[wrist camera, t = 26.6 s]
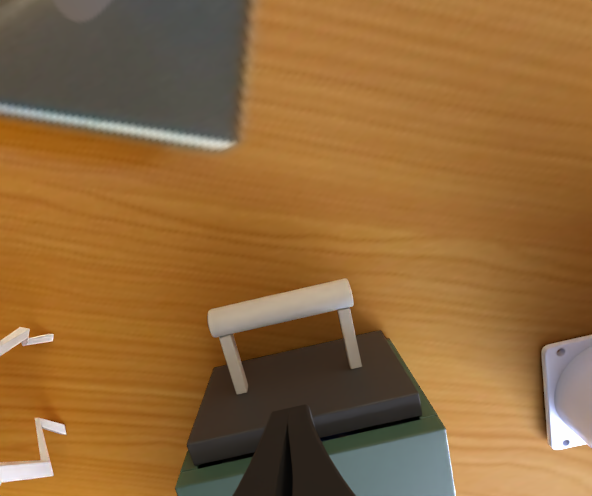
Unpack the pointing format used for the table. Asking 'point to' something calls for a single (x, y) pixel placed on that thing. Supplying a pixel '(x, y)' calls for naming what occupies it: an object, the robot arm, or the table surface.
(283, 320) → the drawer
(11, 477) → the origami figure
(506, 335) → the table surface
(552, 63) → the table surface
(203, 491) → the sage green box
